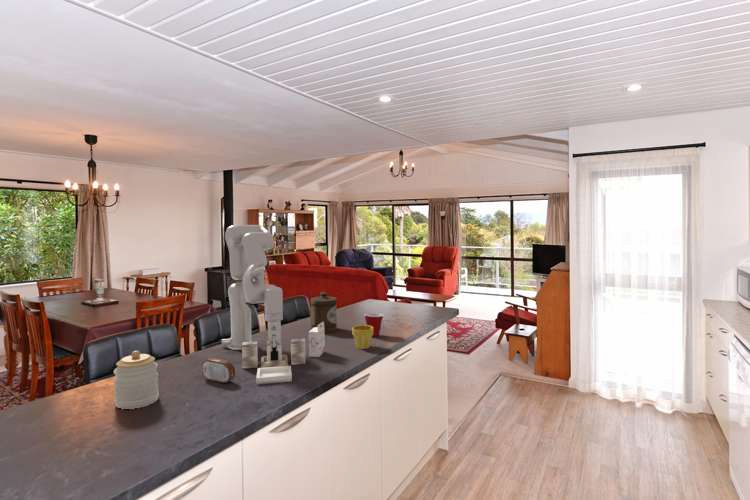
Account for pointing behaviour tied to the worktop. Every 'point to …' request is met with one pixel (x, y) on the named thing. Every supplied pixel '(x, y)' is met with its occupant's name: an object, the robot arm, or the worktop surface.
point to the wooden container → (323, 312)
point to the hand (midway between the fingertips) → (274, 358)
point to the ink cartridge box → (316, 341)
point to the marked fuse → (270, 350)
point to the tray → (274, 375)
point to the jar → (136, 381)
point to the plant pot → (362, 336)
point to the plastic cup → (374, 322)
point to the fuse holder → (252, 361)
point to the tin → (218, 370)
